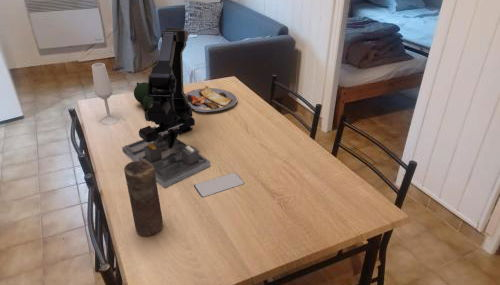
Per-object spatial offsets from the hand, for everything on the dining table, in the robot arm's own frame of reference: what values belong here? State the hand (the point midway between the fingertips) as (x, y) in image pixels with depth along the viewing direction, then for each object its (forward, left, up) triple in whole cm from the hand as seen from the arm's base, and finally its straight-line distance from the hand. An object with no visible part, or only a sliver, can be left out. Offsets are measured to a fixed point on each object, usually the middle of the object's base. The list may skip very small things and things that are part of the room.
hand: (170, 148), depth 129 cm
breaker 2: (-2, +10, -1) cm, 10 cm away
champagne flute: (+4, -40, -4) cm, 40 cm away
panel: (+2, 0, -3) cm, 4 cm away
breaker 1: (-2, -10, -1) cm, 10 cm away
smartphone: (-3, +24, -4) cm, 25 cm away
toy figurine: (-14, -37, -4) cm, 39 cm away
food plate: (-38, -27, -4) cm, 46 cm away
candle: (+23, +26, -4) cm, 35 cm away
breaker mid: (+7, 0, -1) cm, 7 cm away
